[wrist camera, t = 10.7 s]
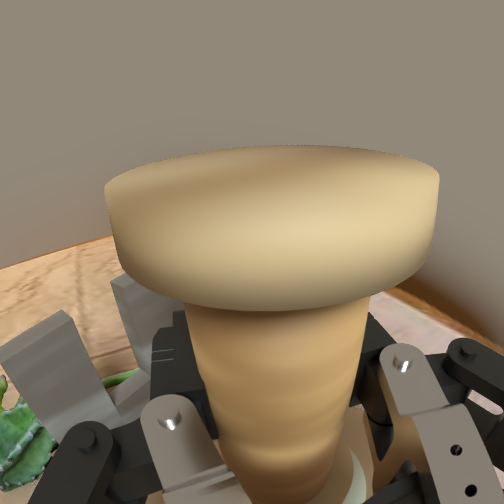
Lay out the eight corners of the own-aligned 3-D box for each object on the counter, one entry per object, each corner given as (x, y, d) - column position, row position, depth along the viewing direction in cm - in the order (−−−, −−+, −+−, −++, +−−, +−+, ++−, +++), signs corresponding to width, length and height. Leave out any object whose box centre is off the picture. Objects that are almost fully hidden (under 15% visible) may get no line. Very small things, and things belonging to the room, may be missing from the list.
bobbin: (180, 494, 10) (49, 194, 5) (256, 409, 15) (234, 144, 9) (307, 559, 7) (439, 247, 2) (368, 450, 11) (438, 156, 6)
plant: (174, 374, 22) (156, 305, 20) (49, 535, 8) (-22, 487, 6) (57, 329, 27) (36, 273, 24) (-48, 423, 13) (-89, 365, 10)
